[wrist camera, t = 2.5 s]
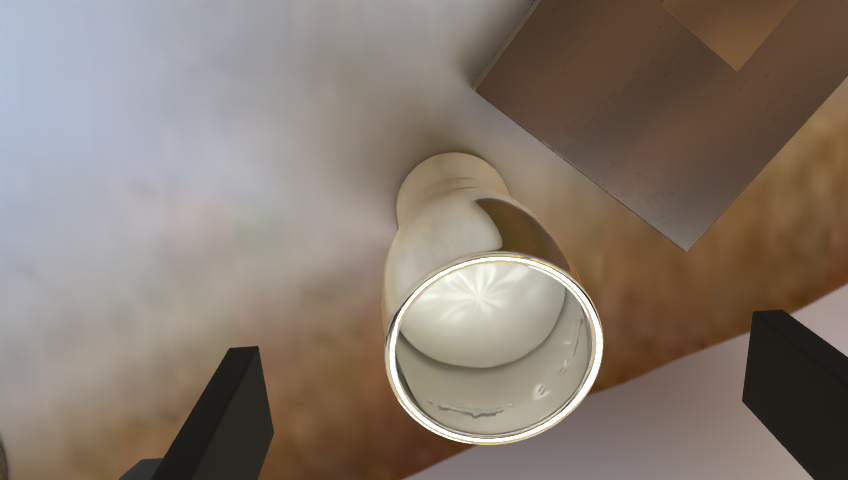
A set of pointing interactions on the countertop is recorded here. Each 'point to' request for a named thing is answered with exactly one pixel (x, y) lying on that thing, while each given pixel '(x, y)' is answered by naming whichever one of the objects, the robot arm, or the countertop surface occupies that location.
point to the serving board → (669, 94)
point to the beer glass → (482, 309)
